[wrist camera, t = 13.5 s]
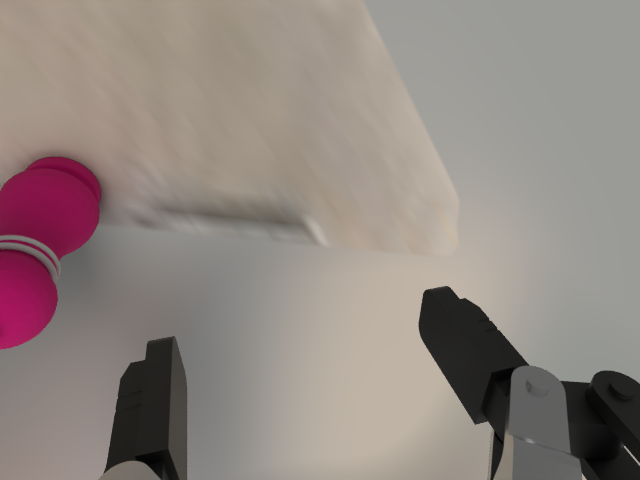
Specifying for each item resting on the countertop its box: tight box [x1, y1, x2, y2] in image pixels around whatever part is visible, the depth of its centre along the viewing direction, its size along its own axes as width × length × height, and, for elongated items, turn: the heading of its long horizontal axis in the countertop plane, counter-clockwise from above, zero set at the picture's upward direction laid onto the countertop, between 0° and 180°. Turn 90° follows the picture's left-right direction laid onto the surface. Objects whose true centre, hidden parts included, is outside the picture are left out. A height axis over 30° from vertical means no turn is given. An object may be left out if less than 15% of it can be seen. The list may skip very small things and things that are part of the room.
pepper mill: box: [0, 157, 101, 349], centre depth 30 cm, size 7×7×20 cm
